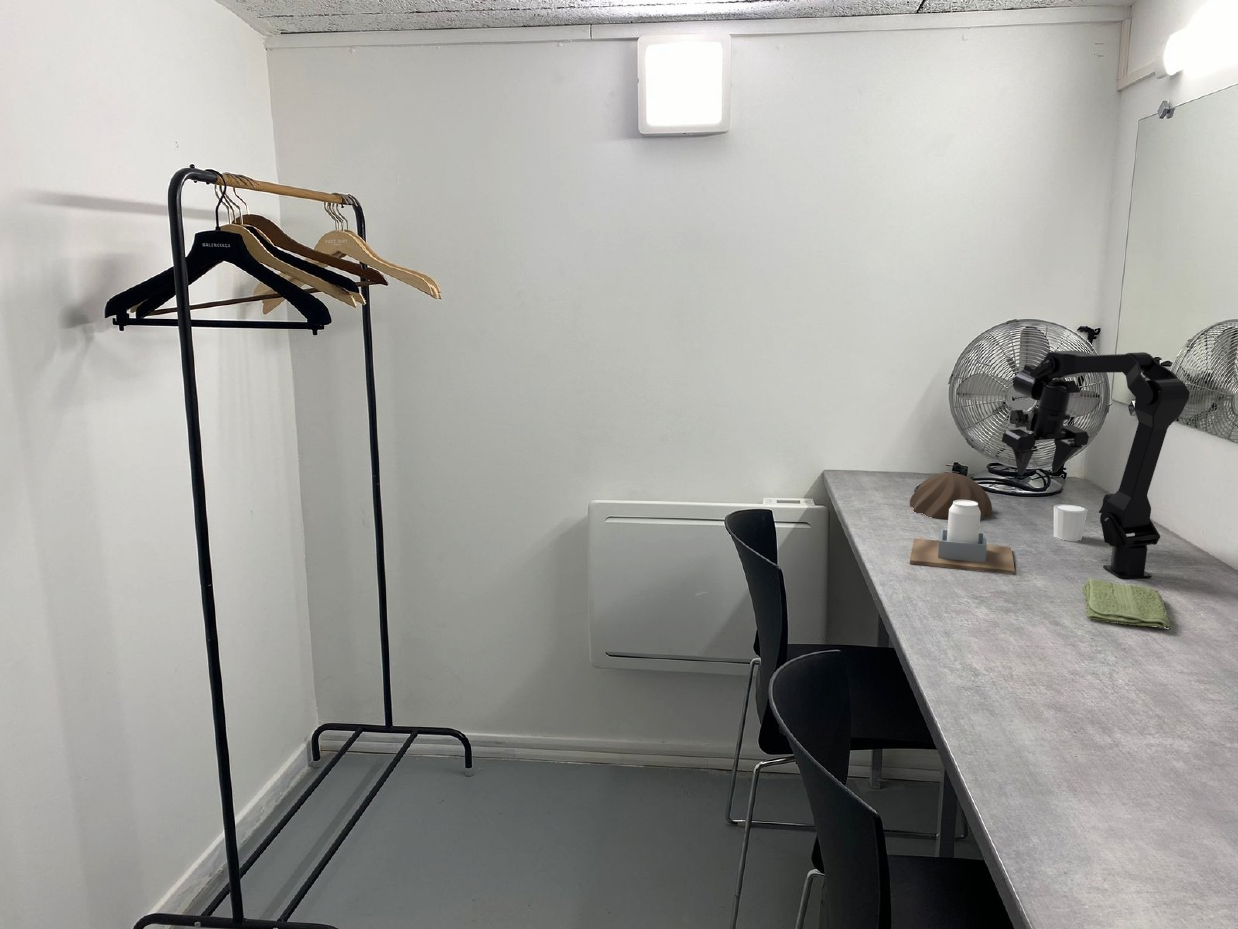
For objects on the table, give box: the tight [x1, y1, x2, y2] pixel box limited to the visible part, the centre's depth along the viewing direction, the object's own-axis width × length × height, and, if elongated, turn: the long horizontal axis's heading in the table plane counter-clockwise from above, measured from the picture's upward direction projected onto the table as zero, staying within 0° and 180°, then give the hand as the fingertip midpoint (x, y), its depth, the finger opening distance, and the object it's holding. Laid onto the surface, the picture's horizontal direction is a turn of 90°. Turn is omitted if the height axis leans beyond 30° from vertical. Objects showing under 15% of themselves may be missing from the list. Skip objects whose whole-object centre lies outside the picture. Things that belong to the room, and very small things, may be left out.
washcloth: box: [1082, 578, 1172, 629], centre depth 159 cm, size 13×18×3 cm
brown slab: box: [909, 537, 1016, 575], centre depth 189 cm, size 20×16×1 cm
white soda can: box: [947, 500, 981, 544], centre depth 187 cm, size 6×6×12 cm
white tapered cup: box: [1053, 503, 1089, 542], centre depth 201 cm, size 7×7×7 cm
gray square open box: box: [938, 528, 988, 562], centre depth 188 cm, size 9×9×4 cm
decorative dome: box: [909, 471, 993, 521], centre depth 224 cm, size 19×20×10 cm
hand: (1037, 473), depth 200 cm, fingers open, 9 cm apart
